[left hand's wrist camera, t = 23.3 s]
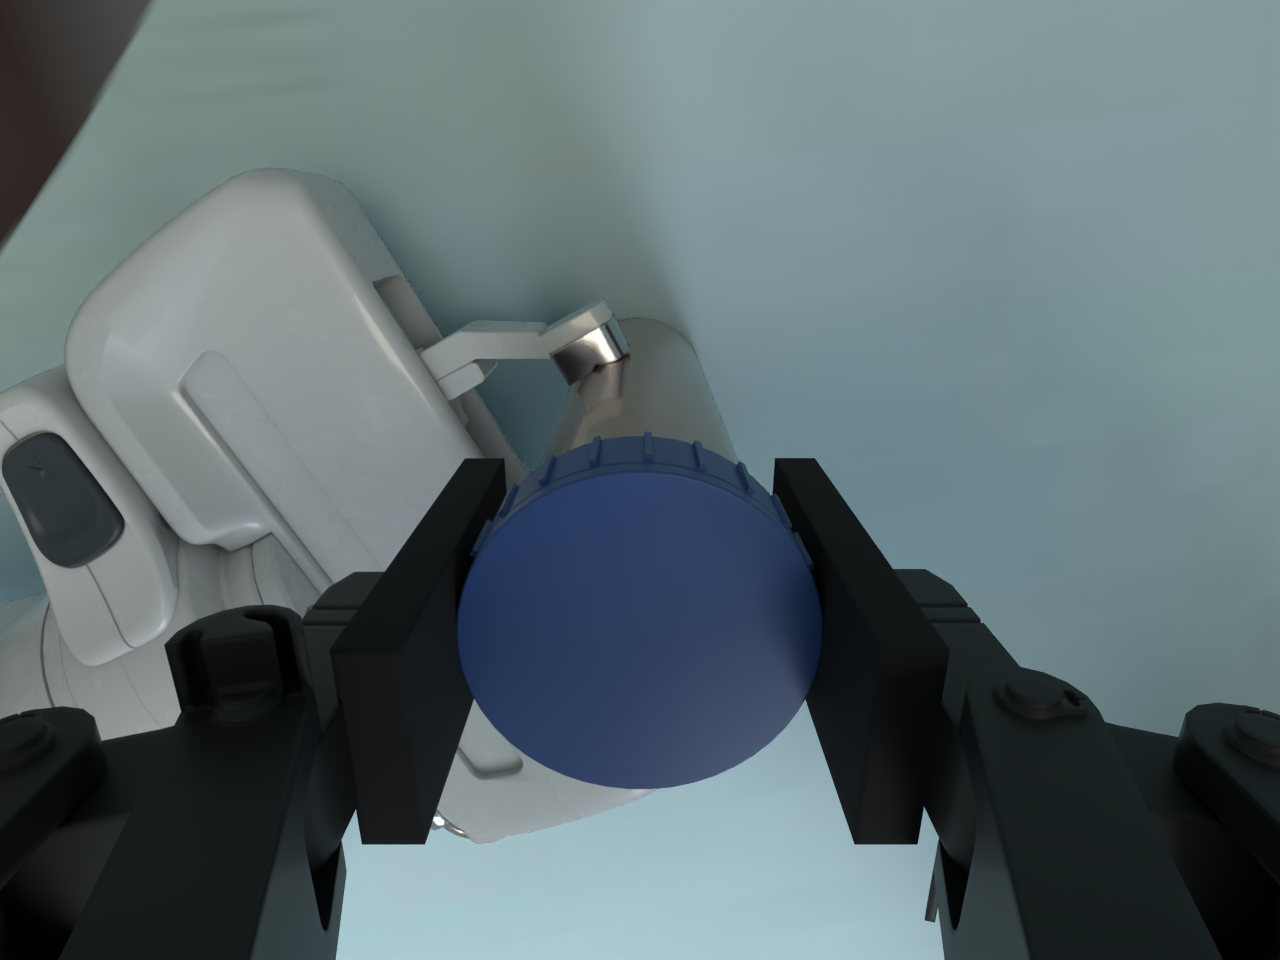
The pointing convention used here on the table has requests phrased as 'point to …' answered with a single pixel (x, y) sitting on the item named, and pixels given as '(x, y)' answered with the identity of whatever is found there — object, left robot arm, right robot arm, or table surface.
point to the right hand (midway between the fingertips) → (668, 416)
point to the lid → (639, 614)
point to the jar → (643, 396)
